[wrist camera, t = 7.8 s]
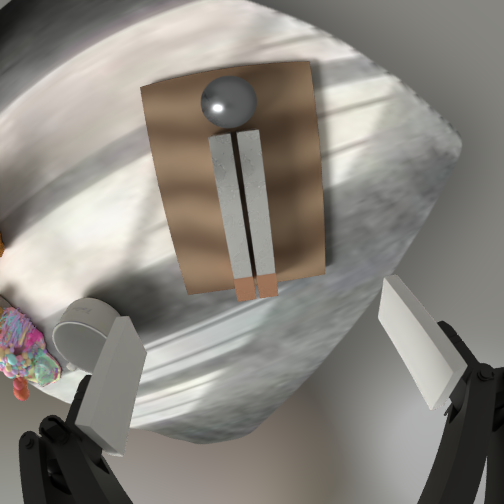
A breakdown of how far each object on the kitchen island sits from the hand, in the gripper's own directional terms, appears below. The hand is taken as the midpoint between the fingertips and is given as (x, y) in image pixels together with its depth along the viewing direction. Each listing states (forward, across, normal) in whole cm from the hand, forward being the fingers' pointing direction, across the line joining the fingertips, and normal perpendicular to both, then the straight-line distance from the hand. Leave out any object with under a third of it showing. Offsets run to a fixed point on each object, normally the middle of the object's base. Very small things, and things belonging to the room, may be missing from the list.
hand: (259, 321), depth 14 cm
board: (+21, 0, +2) cm, 21 cm away
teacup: (+22, -26, -15) cm, 37 cm away
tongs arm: (+20, +1, -1) cm, 20 cm away
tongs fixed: (+20, 0, +2) cm, 20 cm away
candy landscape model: (+22, -52, -20) cm, 60 cm away
